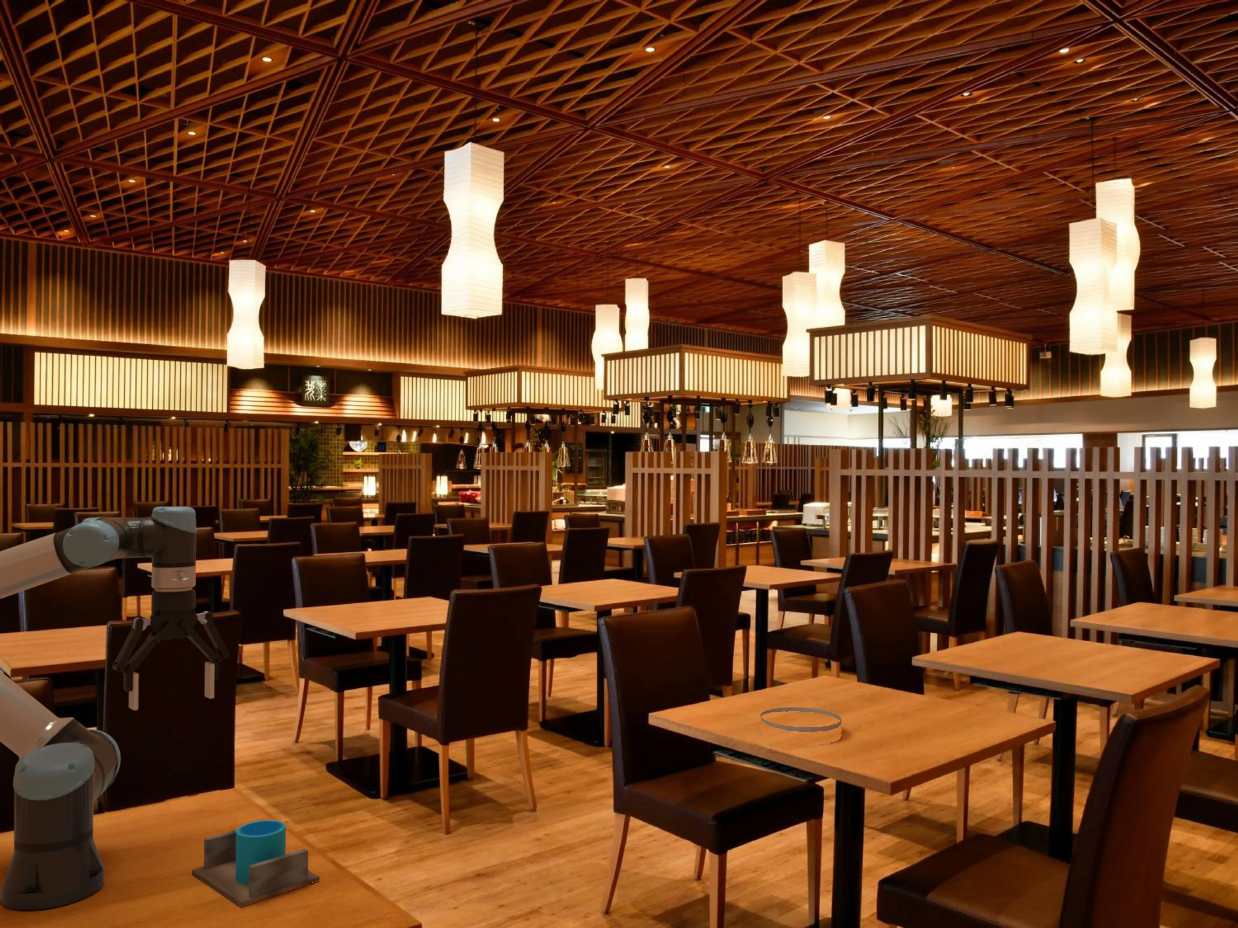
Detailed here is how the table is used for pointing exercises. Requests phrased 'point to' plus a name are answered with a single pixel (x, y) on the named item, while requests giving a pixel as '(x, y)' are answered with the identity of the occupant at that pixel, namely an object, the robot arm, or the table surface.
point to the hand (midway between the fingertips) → (172, 702)
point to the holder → (251, 872)
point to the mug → (258, 845)
